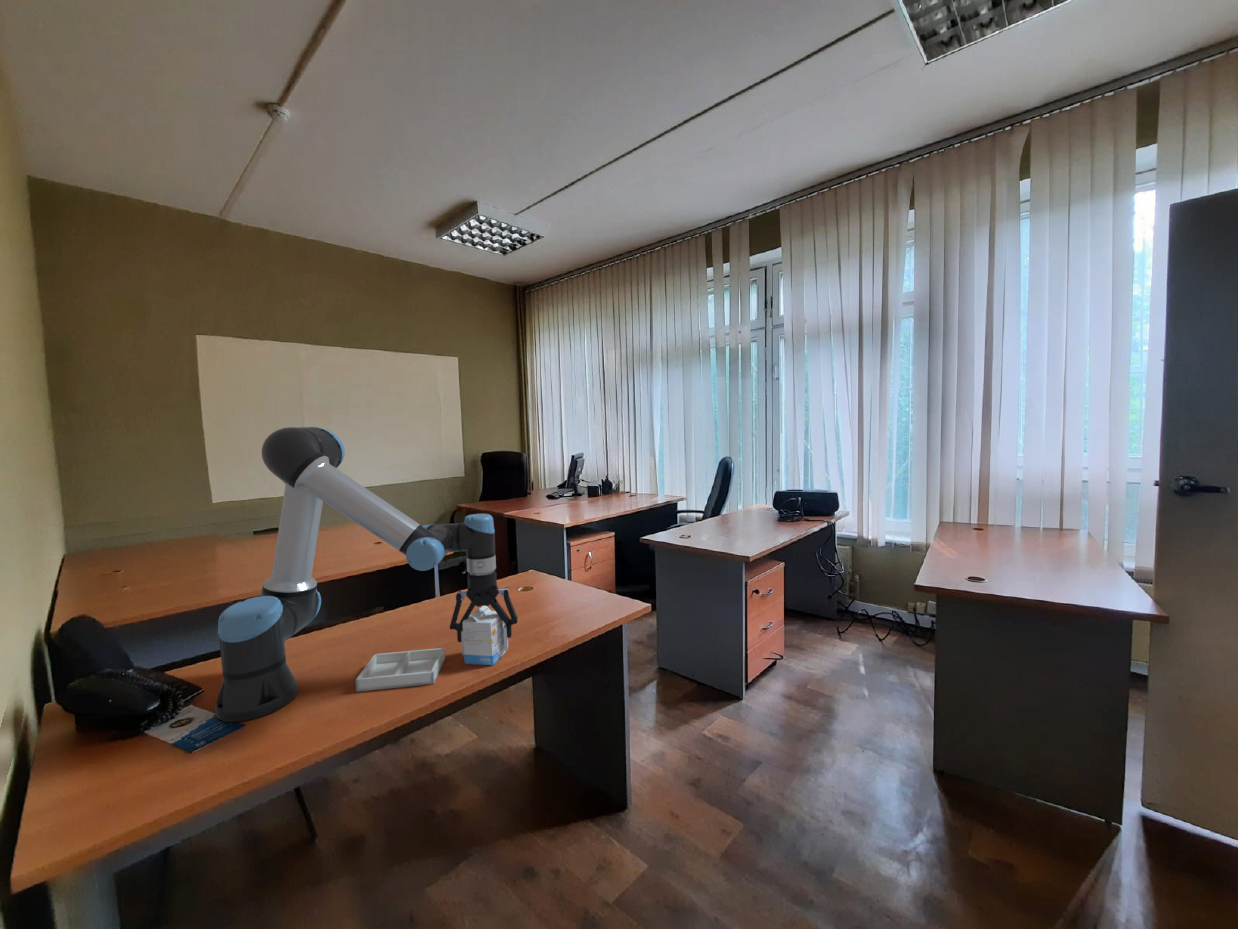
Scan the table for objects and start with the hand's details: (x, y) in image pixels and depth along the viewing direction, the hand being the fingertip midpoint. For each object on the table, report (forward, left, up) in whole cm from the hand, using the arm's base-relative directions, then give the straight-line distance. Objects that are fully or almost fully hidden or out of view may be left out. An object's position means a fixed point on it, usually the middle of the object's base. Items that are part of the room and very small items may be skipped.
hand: (485, 650), depth 130 cm
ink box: (0, 0, -2) cm, 2 cm away
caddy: (-20, -5, -2) cm, 21 cm away
